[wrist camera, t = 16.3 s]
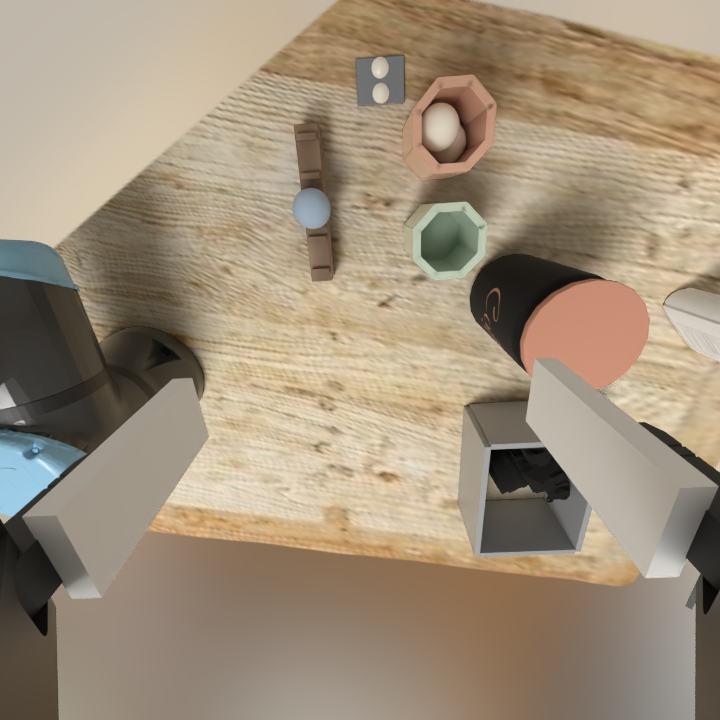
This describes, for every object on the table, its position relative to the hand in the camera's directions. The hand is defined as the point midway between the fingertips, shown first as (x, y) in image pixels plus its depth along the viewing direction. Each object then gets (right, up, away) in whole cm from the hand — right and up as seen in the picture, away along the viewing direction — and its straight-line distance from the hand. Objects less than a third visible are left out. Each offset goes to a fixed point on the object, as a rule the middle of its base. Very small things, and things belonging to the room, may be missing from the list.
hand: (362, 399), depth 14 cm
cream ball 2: (+8, +26, +26) cm, 37 cm away
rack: (-5, +20, +29) cm, 36 cm away
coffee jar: (+20, +10, +33) cm, 40 cm away
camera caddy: (+24, -14, +44) cm, 52 cm away
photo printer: (+45, +7, +35) cm, 57 cm away
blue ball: (-5, +18, +25) cm, 32 cm away
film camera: (+24, -13, +44) cm, 52 cm away
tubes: (+6, +24, +27) cm, 37 cm away
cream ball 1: (+9, +24, +22) cm, 34 cm away
